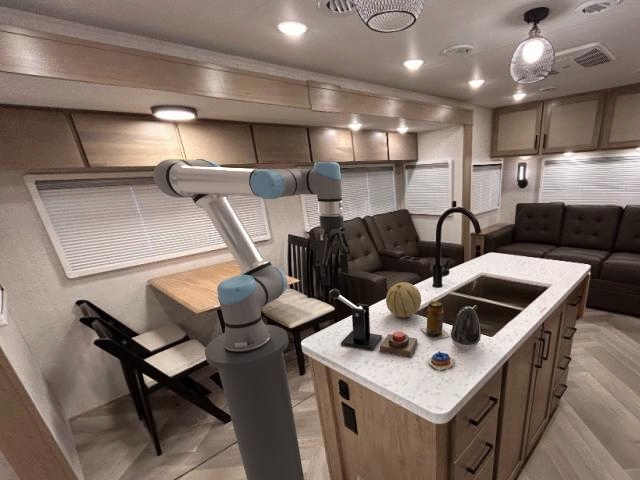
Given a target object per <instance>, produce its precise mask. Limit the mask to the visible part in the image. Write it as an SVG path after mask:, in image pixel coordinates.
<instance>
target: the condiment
mask: <svg viewBox="0 0 640 480" xmlns="http://www.w3.org/2000/svg"><path fill="white" fill-rule="evenodd" d="M443 324H444V305H443V303H442V302H441V301H437V300H433V301H432V300H431V301H430V302H429V303H428V308H427V310H426V328H421V330H422V332H423V333H424V335H426V336H427V337H428V338H429V339H430V340H437V339H438V340H439V339H443V338H448V337H449V335H448V334H447V333H446V332H445V331H444V330H443V327H444V325H443Z"/></svg>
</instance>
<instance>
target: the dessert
mask: <svg viewBox="0 0 640 480" xmlns="http://www.w3.org/2000/svg"><path fill="white" fill-rule="evenodd" d="M428 362H429V365H430V366H431V367H433V368H434V369H436V370H438V371H443V370H446V369H450V368H451V367H453V366H454V360H453V359H452V358H451V357H450V355H449V353H446V352H441V351H440V350H438V352H435V353H434V354H433V355H432V356H430V357H429V359H428Z"/></svg>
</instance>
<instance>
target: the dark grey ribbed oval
mask: <svg viewBox="0 0 640 480" xmlns="http://www.w3.org/2000/svg"><path fill="white" fill-rule="evenodd" d="M477 308H479V307H478V304H475V305H473V306H469V305H466V306H462V307H461V308H460V310H459V311H458V312H457V313H456V316H455V318H454V321H453V324H452V327H451V331H450V338H451V341H452V343H453V345H454V346H455V347H456V348H457V349H459V350H462V351H470V350H473V349H475V348H476V347H477V346H478V344H479V342H480V341H481V338H482V337H481V336H482V334H481V333H482V332H481V325H480V324H481V323H480V320H479V316H478V314H477V311H476V310H477Z"/></svg>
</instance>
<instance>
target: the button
mask: <svg viewBox="0 0 640 480" xmlns="http://www.w3.org/2000/svg"><path fill="white" fill-rule="evenodd" d="M392 334H393V339H394V340H395V341H403V340H404V339H405V334H406V333H405V332H403V331H402V330H401V331H399V330H397V331H394V332H393V333H392Z"/></svg>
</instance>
